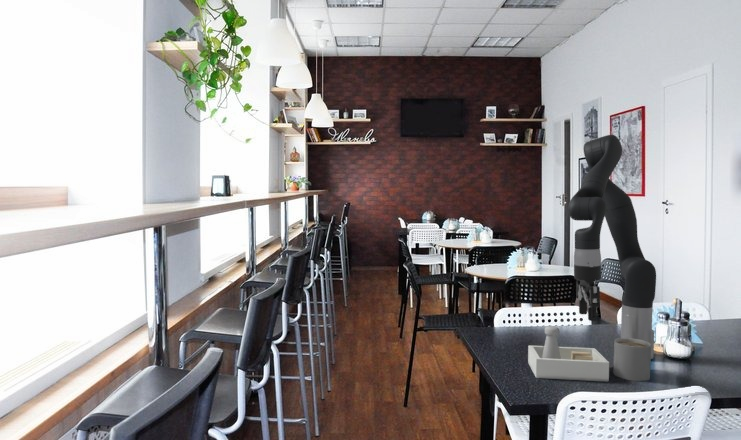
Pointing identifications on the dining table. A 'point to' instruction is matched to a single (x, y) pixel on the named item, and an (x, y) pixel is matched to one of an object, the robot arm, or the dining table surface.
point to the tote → (568, 365)
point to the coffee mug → (632, 359)
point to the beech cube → (581, 356)
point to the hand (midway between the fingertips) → (587, 317)
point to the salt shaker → (551, 343)
